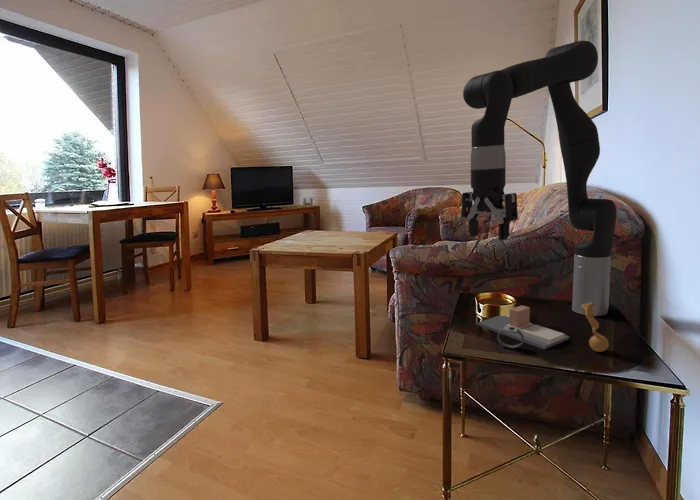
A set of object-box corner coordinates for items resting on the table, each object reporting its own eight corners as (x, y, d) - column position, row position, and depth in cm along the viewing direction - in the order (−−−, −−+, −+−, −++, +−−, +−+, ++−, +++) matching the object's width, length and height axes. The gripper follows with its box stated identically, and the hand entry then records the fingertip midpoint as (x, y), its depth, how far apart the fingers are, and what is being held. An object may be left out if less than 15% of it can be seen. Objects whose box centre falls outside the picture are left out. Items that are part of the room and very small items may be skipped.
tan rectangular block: (520, 323, 120) (521, 304, 118) (532, 327, 116) (533, 307, 115) (506, 328, 117) (506, 309, 115) (518, 333, 113) (518, 312, 112)
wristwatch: (496, 347, 108) (496, 328, 107) (498, 343, 110) (498, 324, 109) (522, 351, 105) (523, 332, 104) (524, 347, 107) (524, 328, 106)
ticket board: (501, 317, 128) (501, 310, 127) (569, 339, 110) (569, 331, 109) (477, 325, 123) (477, 318, 122) (544, 349, 105) (544, 341, 104)
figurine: (608, 359, 98) (611, 309, 96) (578, 355, 101) (580, 306, 99) (608, 345, 105) (610, 298, 103) (580, 341, 108) (582, 295, 106)
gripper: (525, 165, 93) (524, 238, 97) (475, 166, 105) (475, 232, 109) (502, 167, 90) (502, 243, 93) (452, 168, 102) (454, 236, 105)
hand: (488, 237), depth 101 cm, fingers open, 8 cm apart
